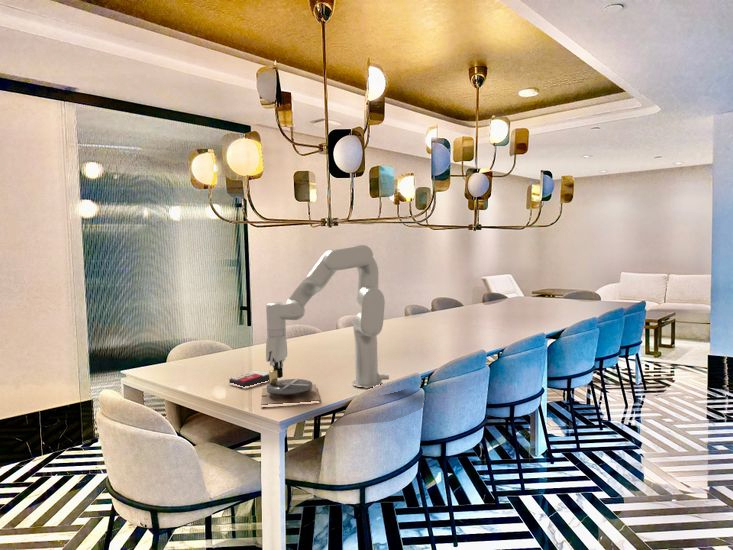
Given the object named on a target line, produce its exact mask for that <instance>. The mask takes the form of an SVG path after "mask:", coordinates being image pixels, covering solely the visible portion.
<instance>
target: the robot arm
mask: <svg viewBox="0 0 733 550" xmlns="http://www.w3.org/2000/svg"><path fill="white" fill-rule="evenodd" d="M354 268H356V269H357V272H358V283H357V284H358V285H357V294H356V295H357V296H356V301H357V303H358V305H359V306H360V307H361V311H359V312H358V313H356V315H355V316H354V317H353V324H352V326H353V335H354V353H355V354H354V357H355V359H354V360H355V379H354V380H353V381H352V382H351V385H352V384H353V385H355V386H361V387H373V386H376V385H379V384H381V383H382V381H383V380H385V381H386V380H387V381H388V380H390V375H389V374H380V373H379V368H378V365H379V364H378V361H379V359H378V337H377V336H379V335H380V334H381V333H382V330H383V326H384V318H385V317H384V316H385V304H386V303H385V302H386V301H385V296H384V294H383V292H382V291H381V289H379V275H380V274H379V266H378V264H377V261H376V259H375V258H374V253H373V250H372V248H371V247H369V246H368V245H367V244H356V245H355V244H354V245H352V246H351V247H345V248H339V249H337V248H336V249H328V250H327V251H325V252H324V253H323V254H322V256H321V257H320V258H319V259H318V261H317V262H316V263H315V265H314V266H313V268H311V270H310V271H309V272H308V274H307V275H306V277H305V278H304V279H303V280H302V282H301V283H300V284H299V285H298V286H297V287H296V288H295V290H294V291H293V292H292V294H291V295H290V296H289V297H288V299H287V300H286V302H285V303H284V302H274V301H273V302H269V303H267V304H266V306H265V312H266V331H267V338H266V343H265V344H266V345H265V361H266V362H268V363H269V366H271V367H272V369H273V370H277V379H281V378H283V376H284V374H283V367H284V361H286V358H287V357H288V343H287V328H286V327H287V325H286V324H287V323H286V320H287V321H300V320H301V319H302V318H303V317H304V316H305V313H306V309H305V306H306V305H307V303H308V302H309V301H310V300H311V299H312V297H314V296H315V295H317V294H319V293H320V292H321V291H322V290H323V289H324V288H325V287H326V286H327V284H328V283H329V281H330V280H331V279H332V277H333V276H334V275H335V274H336V272H337V271H344V270H349V269H354ZM353 385H352V386H353ZM381 385H382V384H381Z"/></svg>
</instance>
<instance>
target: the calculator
mask: <svg viewBox="0 0 733 550" xmlns="http://www.w3.org/2000/svg"><path fill="white" fill-rule="evenodd" d="M268 380H269V372H266V371H261V370H253V371H249V372H244V373H242V374H240V375H235V376H233V377H230V378H229V384H230V383H234V384H237V385H240V386H243V387H245V386H250V385H254V384H257V383H261V382H265V381H268Z"/></svg>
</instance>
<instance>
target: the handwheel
mask: <svg viewBox="0 0 733 550" xmlns="http://www.w3.org/2000/svg"><path fill="white" fill-rule="evenodd" d="M268 373H269V382H268V384H267V385H266V388H267V392H268V393H270V394H273V395H282V396H287V395H297V394H302V393H306V392H308V391H310V390H311V389H312V385H313V382H312V381H311V380H307V379H301V378H292V379H291V378H289V379H288V378H287V379H281V380H278V379H279V378H277V370H274V369H270V370H269V371H268Z"/></svg>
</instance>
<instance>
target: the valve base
mask: <svg viewBox="0 0 733 550" xmlns="http://www.w3.org/2000/svg"><path fill="white" fill-rule="evenodd" d="M316 385H317V384H316V383H315V384H314V383H312V389H311V390H310V391H308V392H306V393H302V394H297V395H287V396H282V395H273V394H270V393H268V392H267V387H262V391H261V400H260V406H261V405H268V404H283V403H300V402H311V401H320V402H321V399H320V396H319V395H320V394H319V392H318V388H317V386H316Z"/></svg>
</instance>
